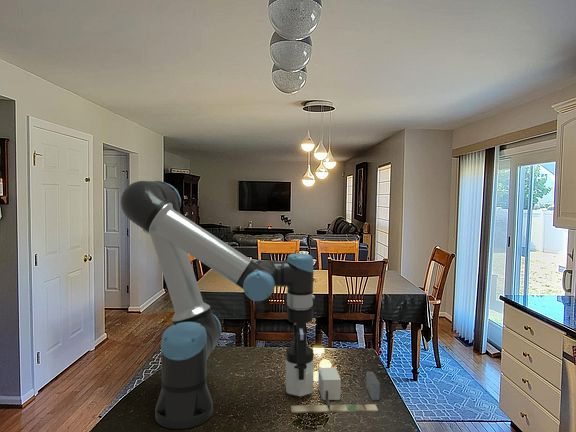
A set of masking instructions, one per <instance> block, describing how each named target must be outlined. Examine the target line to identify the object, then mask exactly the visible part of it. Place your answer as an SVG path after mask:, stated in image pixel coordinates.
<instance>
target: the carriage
mask: <svg viewBox="0 0 576 432" xmlns="http://www.w3.org/2000/svg"><path fill="white" fill-rule="evenodd" d="M317 381H318V384H317V385H318V387H317V388H318V391H319V394H320V399H321V400H323V401H326V402H325V403H326V405H327V406H328V407H330V405H331V403H330V401H340V400H341V385H342V384H341V382H342V381H341V376H340V374H339V371H338V369H337V367H319V368H318V380H317Z"/></svg>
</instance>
